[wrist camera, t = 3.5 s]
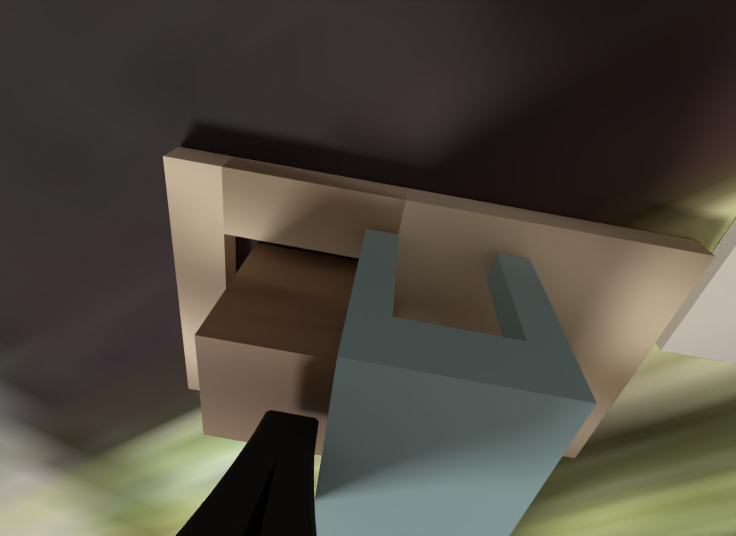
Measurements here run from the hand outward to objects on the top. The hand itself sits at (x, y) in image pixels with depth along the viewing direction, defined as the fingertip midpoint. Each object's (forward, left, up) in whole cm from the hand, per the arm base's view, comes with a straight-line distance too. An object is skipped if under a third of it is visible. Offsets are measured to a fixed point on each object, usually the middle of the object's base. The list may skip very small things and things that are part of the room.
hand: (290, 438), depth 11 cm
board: (0, -3, -6) cm, 7 cm away
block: (0, +1, -6) cm, 6 cm away
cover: (0, -3, -5) cm, 6 cm away
